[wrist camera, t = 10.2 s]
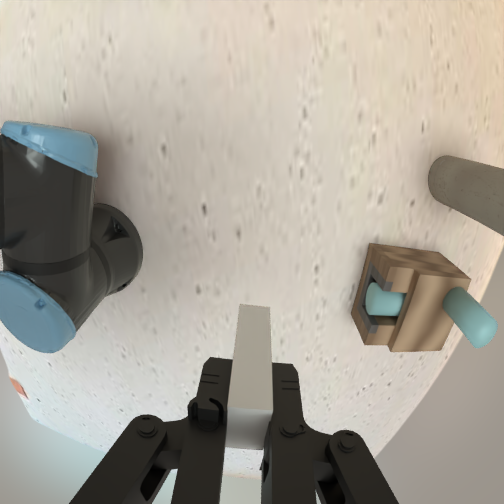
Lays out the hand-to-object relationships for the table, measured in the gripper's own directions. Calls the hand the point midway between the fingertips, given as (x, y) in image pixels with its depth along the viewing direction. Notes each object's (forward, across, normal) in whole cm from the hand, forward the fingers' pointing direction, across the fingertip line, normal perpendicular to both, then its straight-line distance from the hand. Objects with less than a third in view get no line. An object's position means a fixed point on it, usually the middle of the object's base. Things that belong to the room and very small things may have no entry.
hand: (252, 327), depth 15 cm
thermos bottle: (+31, +30, +8) cm, 44 cm away
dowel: (+20, +30, -8) cm, 37 cm away
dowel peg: (+27, +24, -11) cm, 38 cm away
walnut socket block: (+30, +25, -11) cm, 41 cm away
